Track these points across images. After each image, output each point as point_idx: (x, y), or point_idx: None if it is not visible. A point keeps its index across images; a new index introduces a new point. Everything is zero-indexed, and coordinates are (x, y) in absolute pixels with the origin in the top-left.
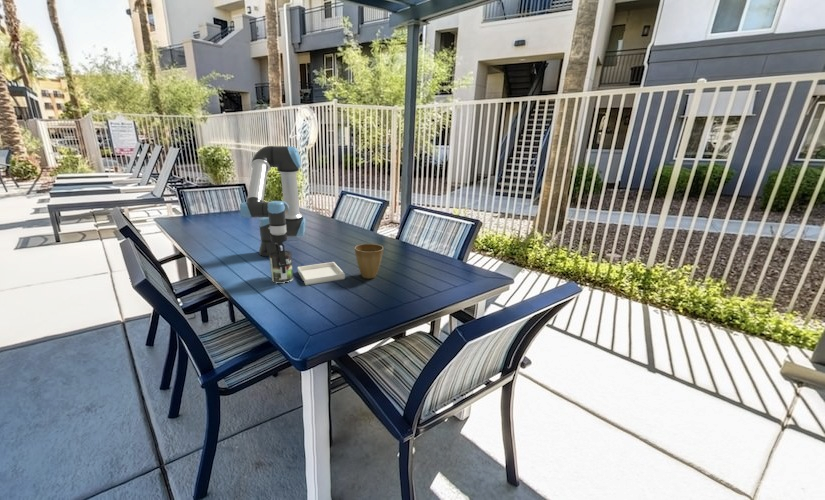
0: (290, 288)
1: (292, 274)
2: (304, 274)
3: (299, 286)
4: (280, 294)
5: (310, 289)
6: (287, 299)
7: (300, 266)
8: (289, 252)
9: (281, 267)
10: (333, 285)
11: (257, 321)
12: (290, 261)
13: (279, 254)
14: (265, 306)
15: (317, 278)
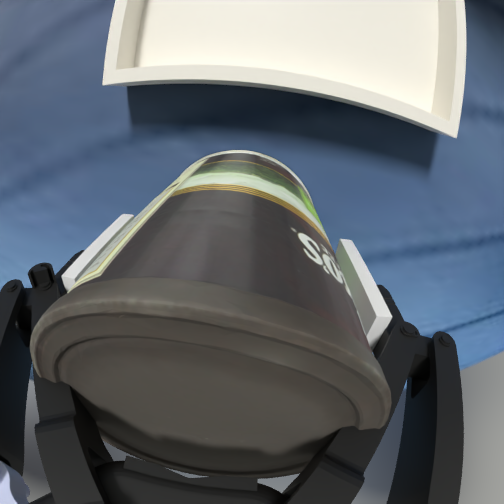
0: (411, 228)
1: (273, 168)
2: (241, 51)
3: (420, 171)
4: (432, 289)
5: (483, 143)
6: (483, 276)
7: (107, 59)
8: (159, 335)
9: (370, 347)
10: (489, 24)
11: (491, 356)
12: (325, 259)
13: (397, 487)
14: (459, 343)
15: (462, 53)
